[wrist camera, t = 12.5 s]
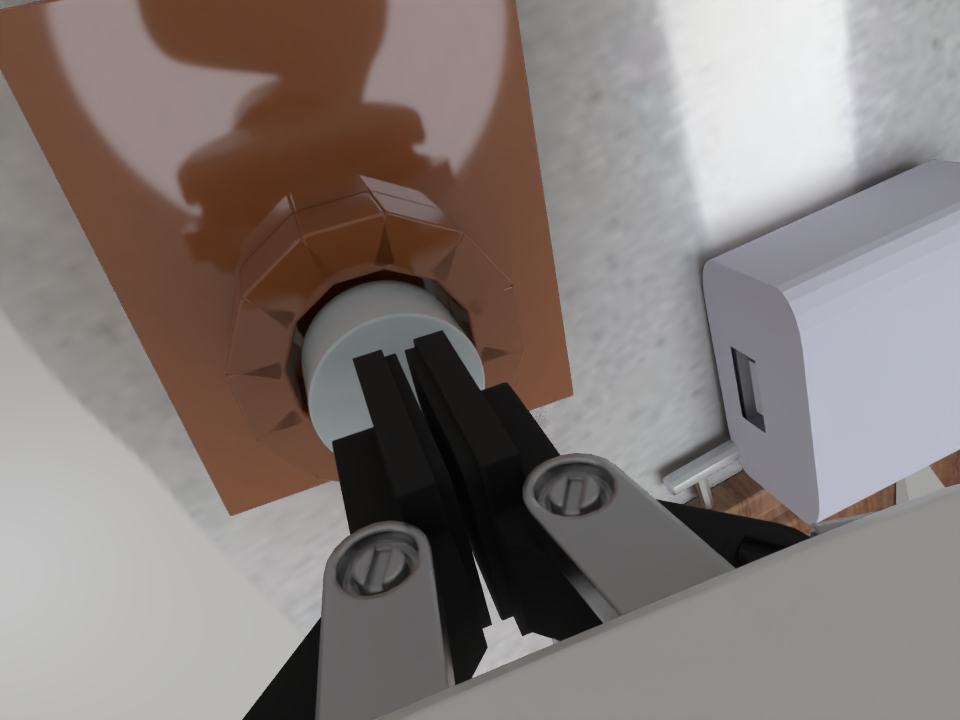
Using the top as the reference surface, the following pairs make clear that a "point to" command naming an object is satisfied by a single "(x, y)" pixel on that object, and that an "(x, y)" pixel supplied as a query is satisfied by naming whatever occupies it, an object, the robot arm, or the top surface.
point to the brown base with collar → (293, 193)
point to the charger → (844, 342)
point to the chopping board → (758, 503)
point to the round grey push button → (369, 348)
